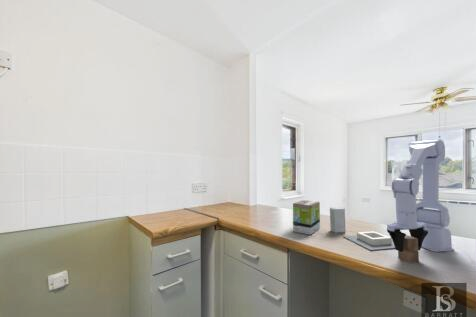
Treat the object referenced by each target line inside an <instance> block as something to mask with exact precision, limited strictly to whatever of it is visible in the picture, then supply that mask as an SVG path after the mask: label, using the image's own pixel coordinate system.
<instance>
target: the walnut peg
mask: <svg viewBox="0 0 476 317" xmlns="http://www.w3.org/2000/svg"><path fill="white" fill-rule="evenodd" d="M397 254H398V255H397V256H398V257H397V258H398V259H401V260H403V261H404V262H407V263H409V264H410V263H412V264H413V263H419V262H420V258H419V257H420V254H419V250H418V239H417V238H414V237H411V235H408V234H406V236H405V238H404V242H403V252H400V251H398V250H397Z"/></svg>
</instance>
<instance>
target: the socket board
mask: <svg viewBox="0 0 476 317" xmlns="http://www.w3.org/2000/svg"><path fill="white" fill-rule="evenodd" d="M342 237H343V238H344V239H346V240H348V241H350V242H352V243H354V244H356V245H358V246H360V247H362V248H364V249H366V250H368V251H370V252H372V251H385V250H396V249H395V246H394V243H393V240H392V238H391V236H387V235H385V234H382V233H379V232H376V231H374V230H372V231H359V232H356V234H354V235H344V236H342Z"/></svg>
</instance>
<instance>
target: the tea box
mask: <svg viewBox="0 0 476 317" xmlns="http://www.w3.org/2000/svg"><path fill="white" fill-rule="evenodd" d="M320 208H321V205H320V201H319V200H318V201H316V200H305V199H302V200H299V201H297V202H294V203H292V232H295V233H299V234H300V233H301V234H304V235H310V236H312V235H313V234H314V233H315V232H316V231H317V230H319V229H320V228H321V216H320V215H321V213H320V212H321V211H320Z"/></svg>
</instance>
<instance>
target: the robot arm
mask: <svg viewBox="0 0 476 317" xmlns="http://www.w3.org/2000/svg"><path fill="white" fill-rule="evenodd" d="M408 146H409V147H408V149H409V150H408V151H409V153H410V159H409V161H408V163H406V164H404V166H403V167H402V169H401V171H400V173H399V175H398V178H396V179H393V180H392V181H391V191H392V193H393V198H394V199H395V214H396V220H394V222H392V223H388V224H386V227H387V228H386V231H387V233H388V235H389V237H391V238H392V240H393V243H394V246H395V249H394V250H395V251H397V252H398V251H400V252H403V242H404V238H405V236H406V235H407V233H405V232H403V231H406V230H407V231H408V232H409V234H410V235H409V236H411V237H414V238H417V239H418V251H421V249H422V248H424V249H427V250H428V251H429V250H430V251H432V252H435V253H438V252H449V251H455V248H453V247H452V233H451V230H450V229H449V228H448V227H449V225H450V222H451V221H450V219H451V218H450V214H449V209H448V207H446V205H444V204H442V203H441V202H440V201H439V199H440V198H439V186H440V184H439V183H440V181H439V180H440V179H439V177H440V176H439V175H440V174H439V172H440V170H439V167H440V162H443V161H444V160H445V157H446V145H445V142H444V141H443V140H442V139H440V138H439V139H431V140H421V141H412V142H410V144H409V145H408ZM421 176H422V200H421V201H419V202H418V203H417V195H418V193H419V191H420V179H421Z"/></svg>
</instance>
